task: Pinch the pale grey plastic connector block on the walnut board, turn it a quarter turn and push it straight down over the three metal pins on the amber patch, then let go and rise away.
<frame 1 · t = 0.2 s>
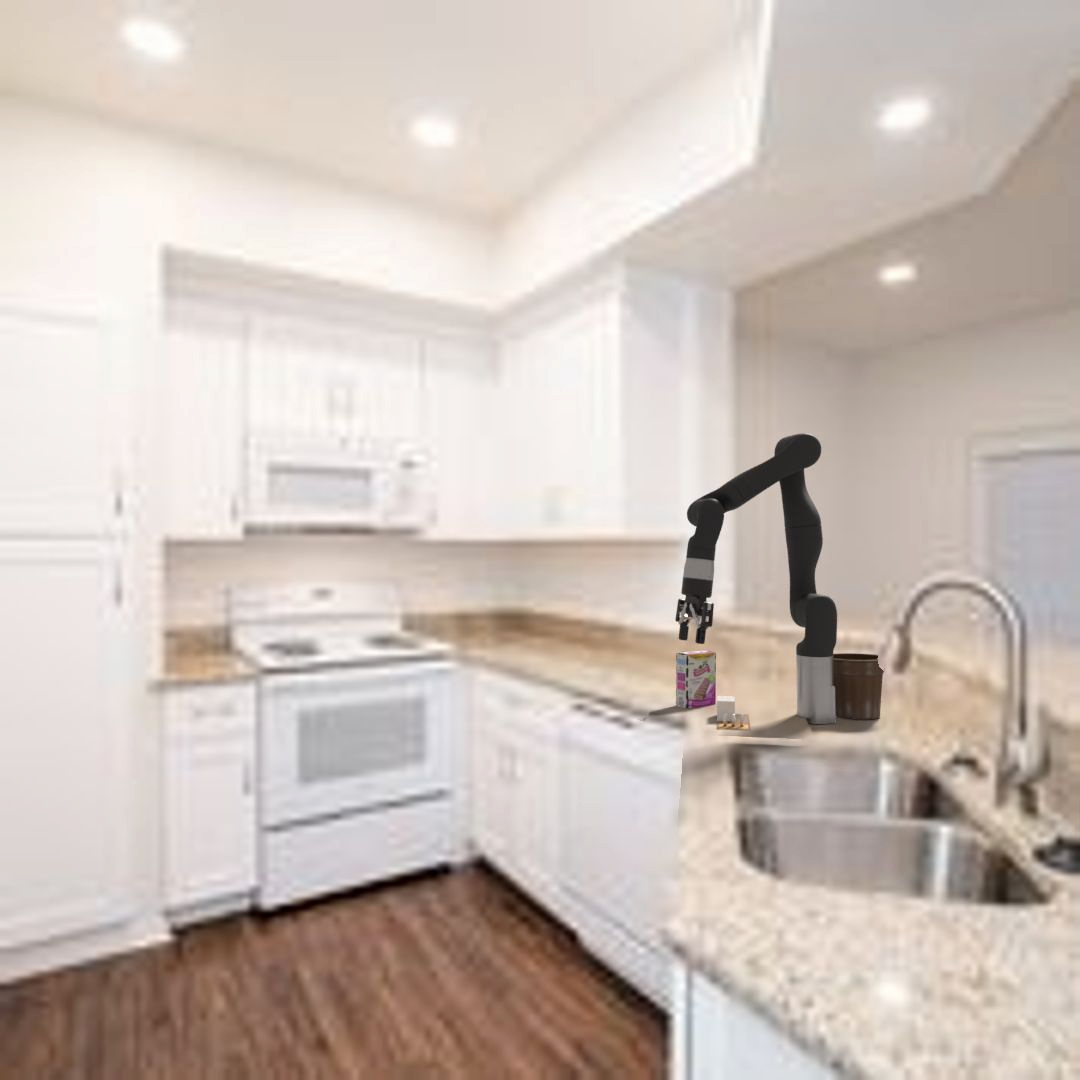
hand: (691, 641, 201), 22 cm above the worktop, tool pointing down, fingers open, 8 cm apart
candy bar box: (696, 711, 226), on the worktop
connector housing: (726, 718, 208), point 1 cm above the worktop, touching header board
plant pot: (855, 716, 216), on the worktop
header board: (733, 727, 203), on the worktop
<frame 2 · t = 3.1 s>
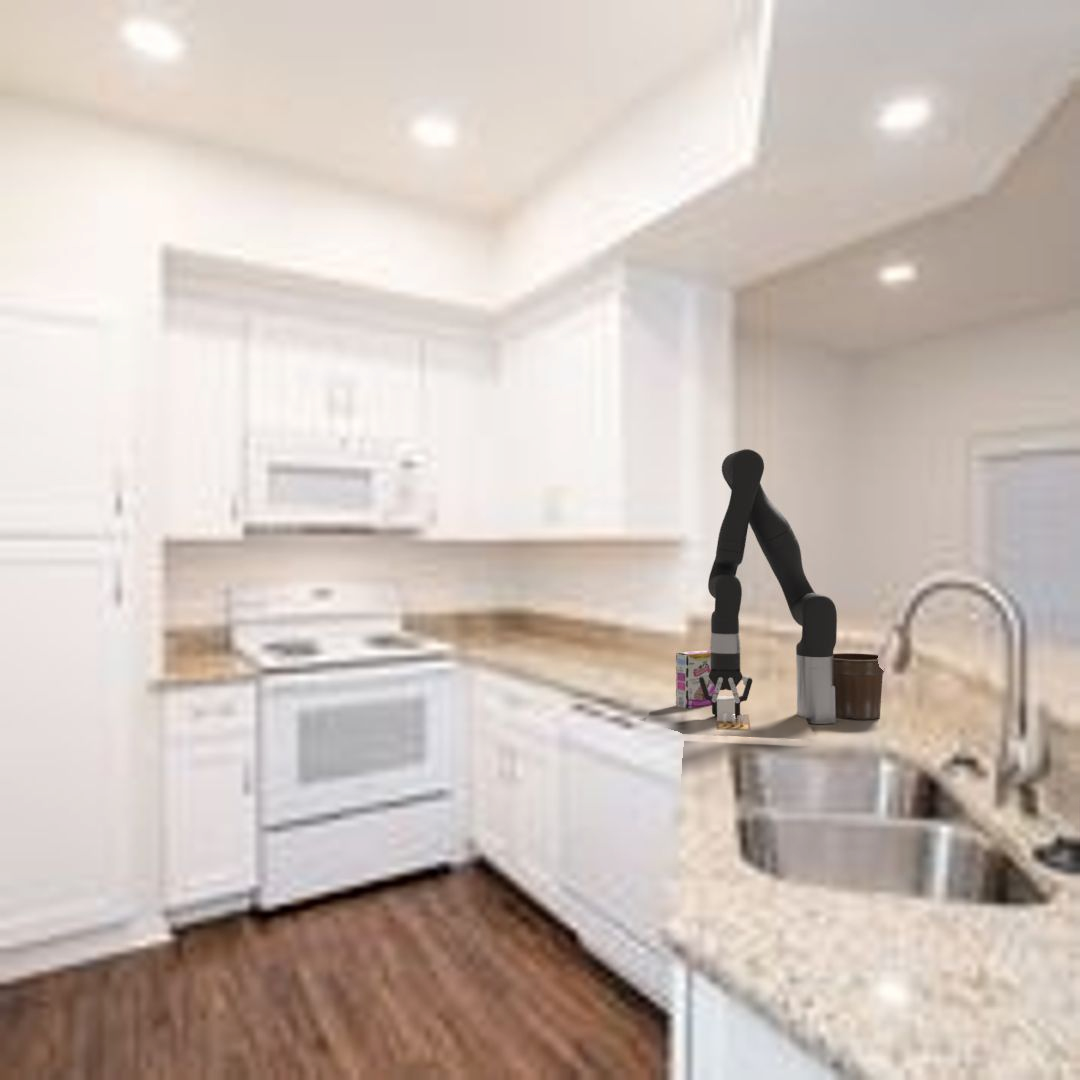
hand: (726, 716, 208), 2 cm above the worktop, tool pointing down, fingers closed on connector housing, 4 cm apart
connector housing: (726, 718, 208), point 2 cm above the worktop, touching gripper, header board
everything else where it was.
when the fingers open (2 cm above the worktop, at t = 9.1 s): connector housing stays where it is, resting on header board.
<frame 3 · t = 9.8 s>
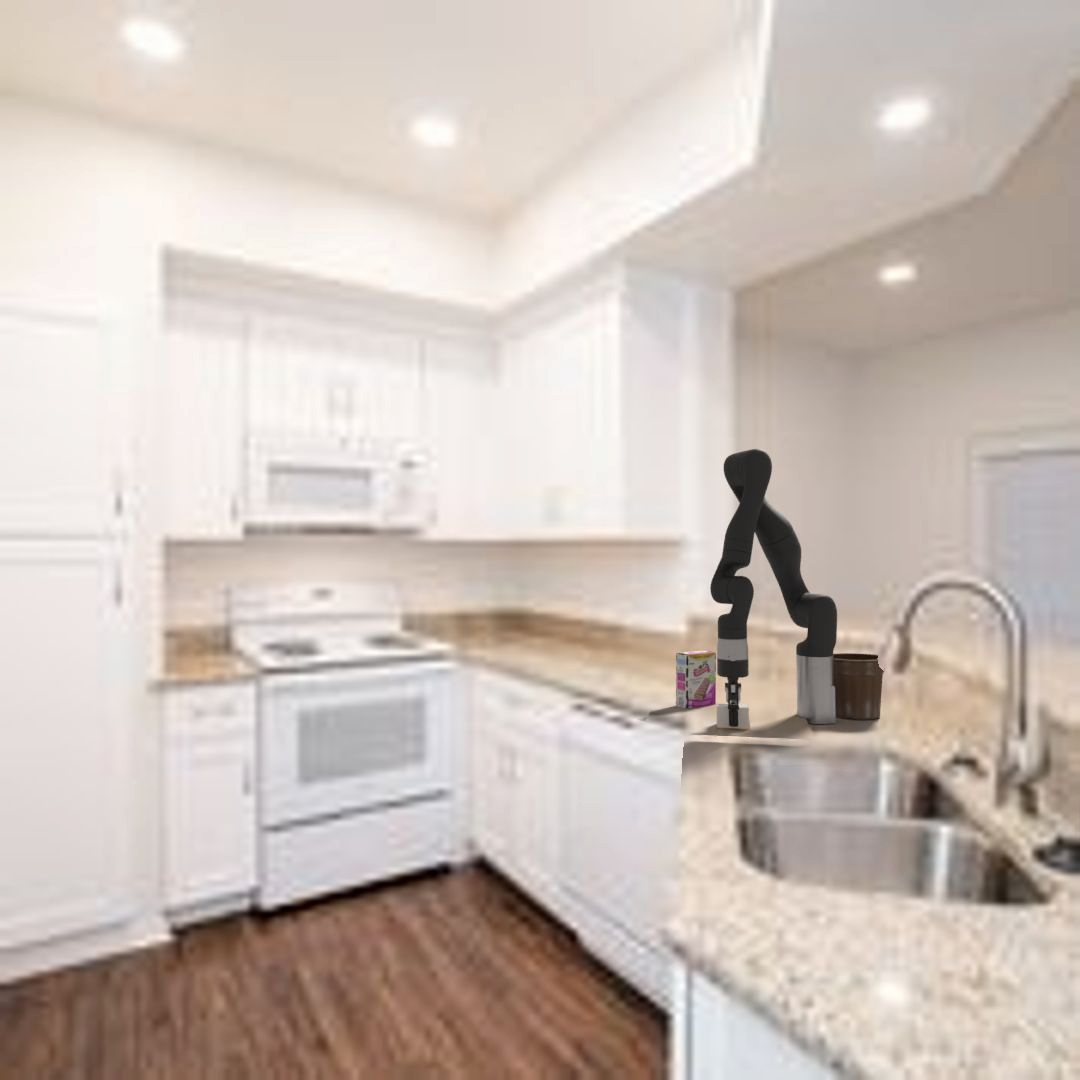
hand: (733, 722, 198), 2 cm above the worktop, tool pointing down, fingers open, 8 cm apart
connector housing: (732, 726, 198), point 2 cm above the worktop, touching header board
everything else where it was.
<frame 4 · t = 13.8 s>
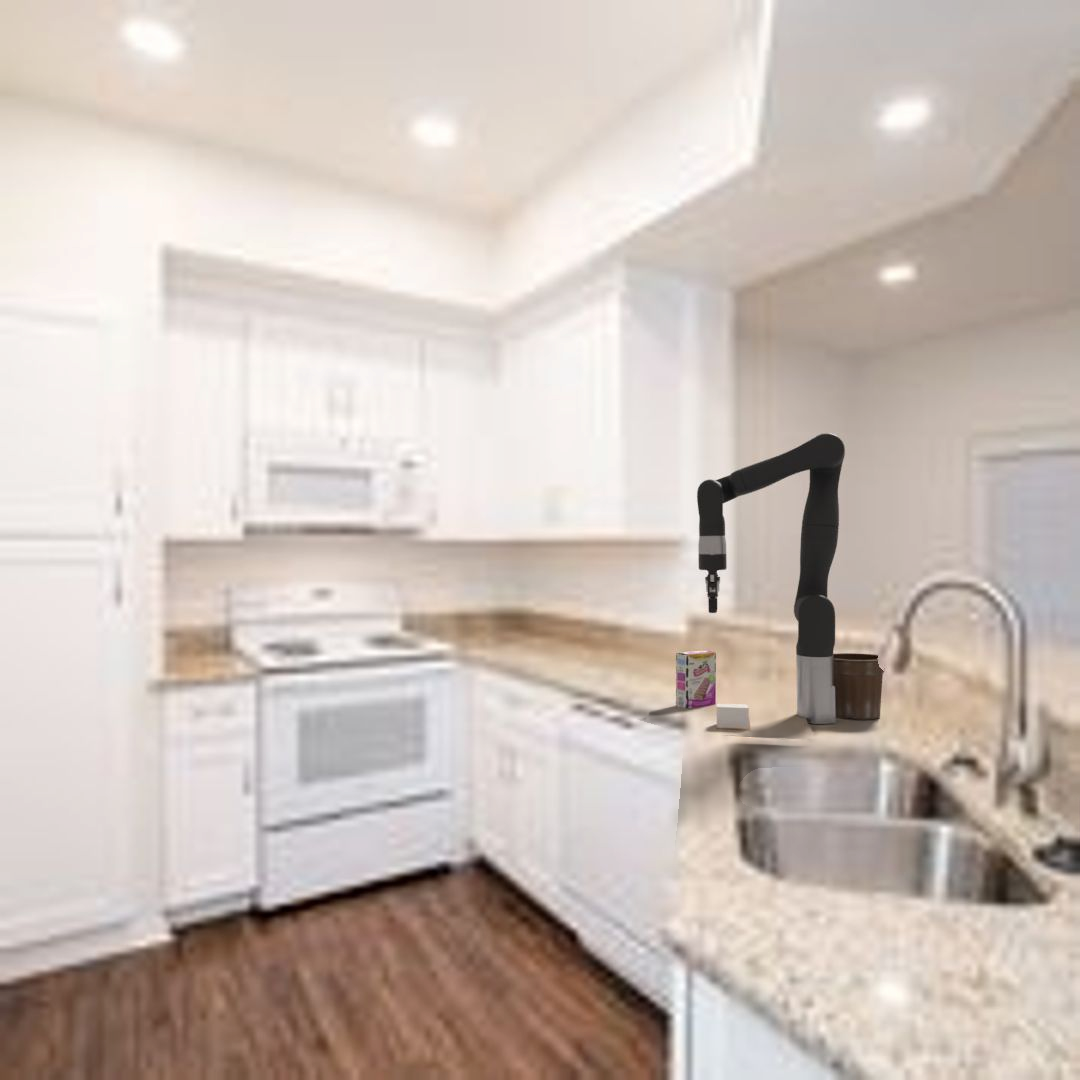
hand: (713, 611, 221), 28 cm above the worktop, tool pointing down, fingers open, 8 cm apart
nothing on the worktop moved.
at the end: connector housing 0.2 cm off-centre on the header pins, point 1.5 cm above the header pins's base; connector housing tilted 0°; the gripper is holding nothing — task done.
